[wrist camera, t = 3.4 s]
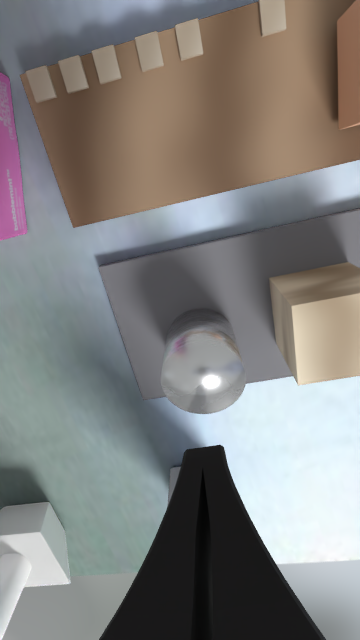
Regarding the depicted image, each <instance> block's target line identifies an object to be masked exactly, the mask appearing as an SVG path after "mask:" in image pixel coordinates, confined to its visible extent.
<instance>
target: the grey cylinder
mask: <svg viewBox="0 0 360 640" xmlns="http://www.w3.org/2000/svg"><path fill="white" fill-rule="evenodd" d="M245 383H246V374H245V370H244V366H243V363H242V359H241V355H240V352H239V348H238V345H237V341H236V338H235V334H234V331H233V328H232V326H231V324H230V323H229V321H228V320H227V319H226V318H225V317H224V316H222V315H221V314H219V313H218V312H215V311H213V310H209V309H193V310H189V311H187V312H185V313H183V314H181V315H180V316H178V317H177V318H176V319H175V320H174V321H173V323H172V324H171V326H170V328H169V330H168V334H167V340H166V346H165V353H164V359H163V366H162V372H161V385H162V389H163V391H164V393H165V395H166V396H167V398H168V399H169V400H170V401H171V402H172V403H173V404H174V405H176V406H177V407H179V408H180V409H183V410H185V411H188V412H191V413H197V414H209V413H215V412H218V411H221V410H224V409H226V408H227V407H229V406H231V405H232V404H233V403H234V402H235V401H236V400H237V399H238V398H239V397H240V395H241V394H242V392H243V390H244V387H245Z"/></svg>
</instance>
